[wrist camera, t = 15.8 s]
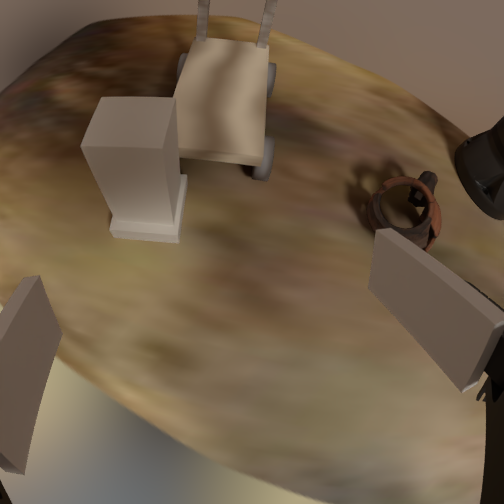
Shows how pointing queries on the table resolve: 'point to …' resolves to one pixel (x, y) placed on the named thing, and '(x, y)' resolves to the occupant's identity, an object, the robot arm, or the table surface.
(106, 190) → the grey pillar on base
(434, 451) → the table surface
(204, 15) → the trolley
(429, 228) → the broken clay pot
